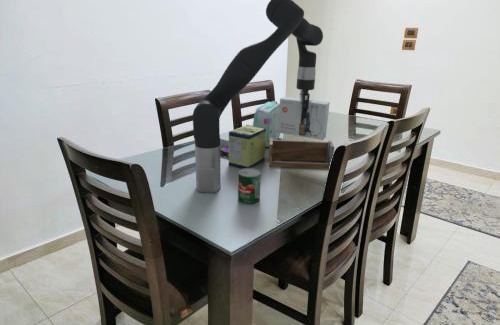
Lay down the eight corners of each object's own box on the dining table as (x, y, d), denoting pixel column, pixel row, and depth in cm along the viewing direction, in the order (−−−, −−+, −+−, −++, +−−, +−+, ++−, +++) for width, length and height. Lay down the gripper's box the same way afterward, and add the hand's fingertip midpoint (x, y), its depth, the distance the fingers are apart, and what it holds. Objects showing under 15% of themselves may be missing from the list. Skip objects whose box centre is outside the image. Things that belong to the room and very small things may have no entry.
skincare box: (277, 133, 161) (279, 98, 156) (281, 130, 166) (283, 96, 160) (323, 140, 153) (326, 103, 147) (326, 137, 157) (330, 101, 152)
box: (199, 151, 179) (229, 159, 168) (199, 144, 178) (229, 152, 167) (218, 144, 189) (247, 151, 178) (218, 138, 188) (247, 145, 177)
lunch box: (265, 134, 207) (267, 97, 199) (282, 136, 204) (284, 99, 196) (250, 147, 183) (251, 106, 176) (269, 150, 180) (271, 108, 173)
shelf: (331, 168, 158) (334, 147, 155) (268, 166, 159) (269, 144, 156) (328, 160, 168) (330, 139, 165) (268, 157, 170) (269, 137, 166)
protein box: (265, 160, 167) (266, 127, 161) (248, 170, 154) (248, 135, 149) (246, 155, 172) (246, 124, 166) (228, 165, 159) (228, 131, 154)
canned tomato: (260, 196, 131) (261, 168, 127) (259, 206, 124) (260, 176, 120) (238, 195, 131) (238, 167, 127) (237, 205, 124) (237, 175, 120)
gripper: (317, 80, 143) (313, 120, 149) (313, 75, 157) (309, 113, 163) (298, 79, 144) (295, 120, 150) (296, 75, 157) (293, 112, 163)
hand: (303, 116), depth 156 cm, fingers closed on skincare box, 6 cm apart
